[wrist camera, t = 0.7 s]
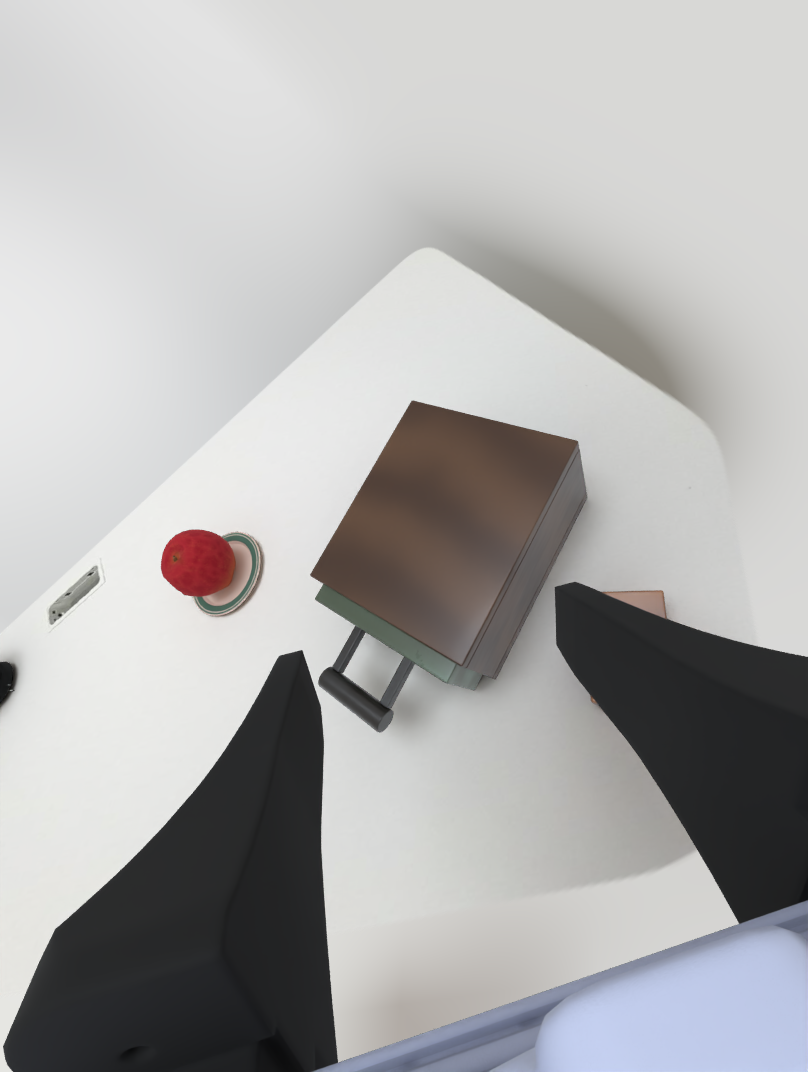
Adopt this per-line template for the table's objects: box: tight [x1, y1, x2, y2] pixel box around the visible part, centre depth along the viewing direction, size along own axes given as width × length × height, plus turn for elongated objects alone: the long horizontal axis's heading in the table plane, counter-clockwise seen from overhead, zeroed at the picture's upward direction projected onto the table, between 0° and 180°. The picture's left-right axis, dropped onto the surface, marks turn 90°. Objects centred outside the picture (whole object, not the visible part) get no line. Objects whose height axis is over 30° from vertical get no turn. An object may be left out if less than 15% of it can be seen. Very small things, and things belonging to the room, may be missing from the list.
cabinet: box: [310, 401, 587, 679], centre depth 30 cm, size 14×12×7 cm
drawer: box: [315, 584, 483, 732], centre depth 29 cm, size 17×10×5 cm, turn 148°
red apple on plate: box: [161, 530, 261, 616], centre depth 39 cm, size 8×8×6 cm
